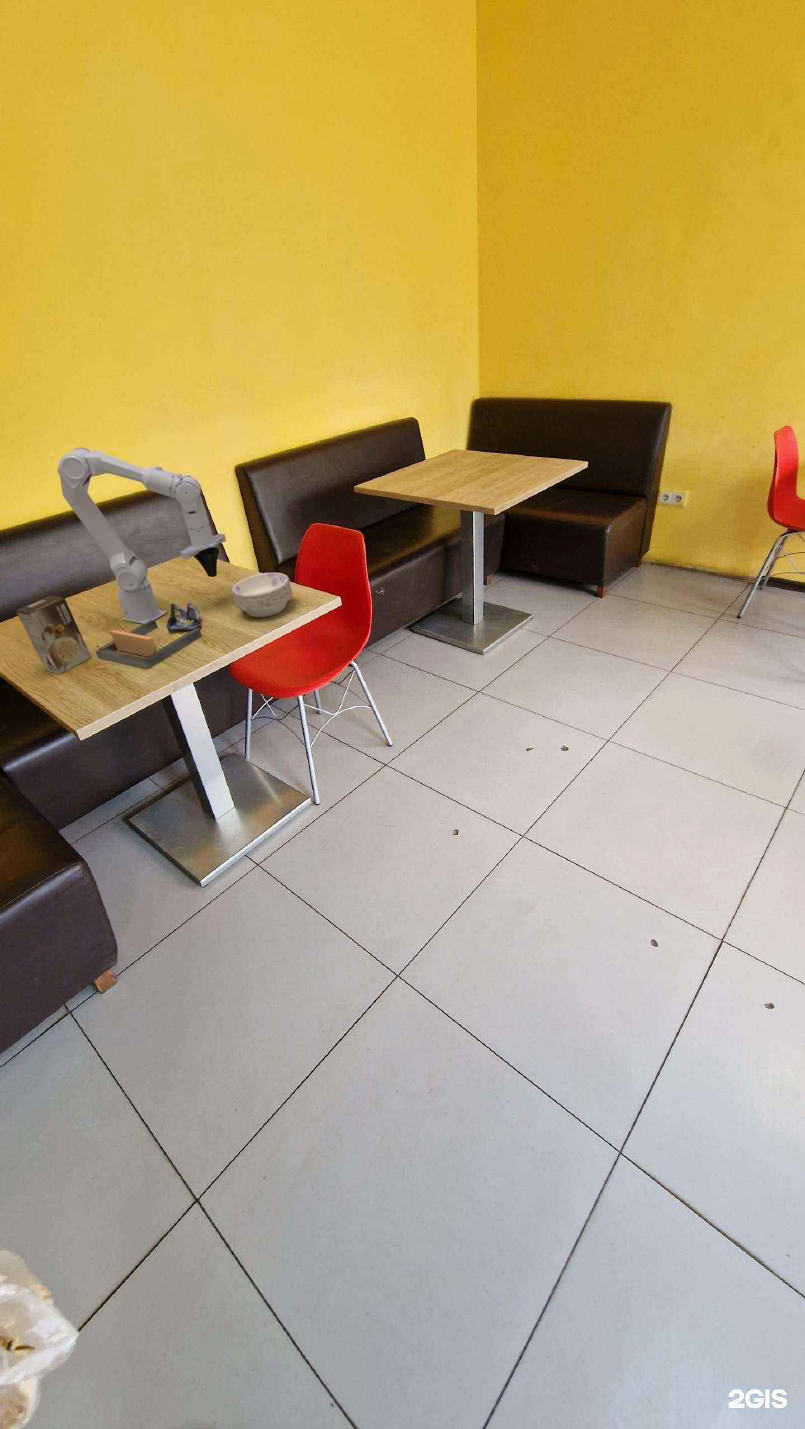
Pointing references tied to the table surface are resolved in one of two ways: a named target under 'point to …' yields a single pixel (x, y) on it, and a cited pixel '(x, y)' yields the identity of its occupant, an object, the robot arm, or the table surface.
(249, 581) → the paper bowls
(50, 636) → the coffee box
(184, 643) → the rail track
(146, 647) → the plate
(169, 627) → the snack package
